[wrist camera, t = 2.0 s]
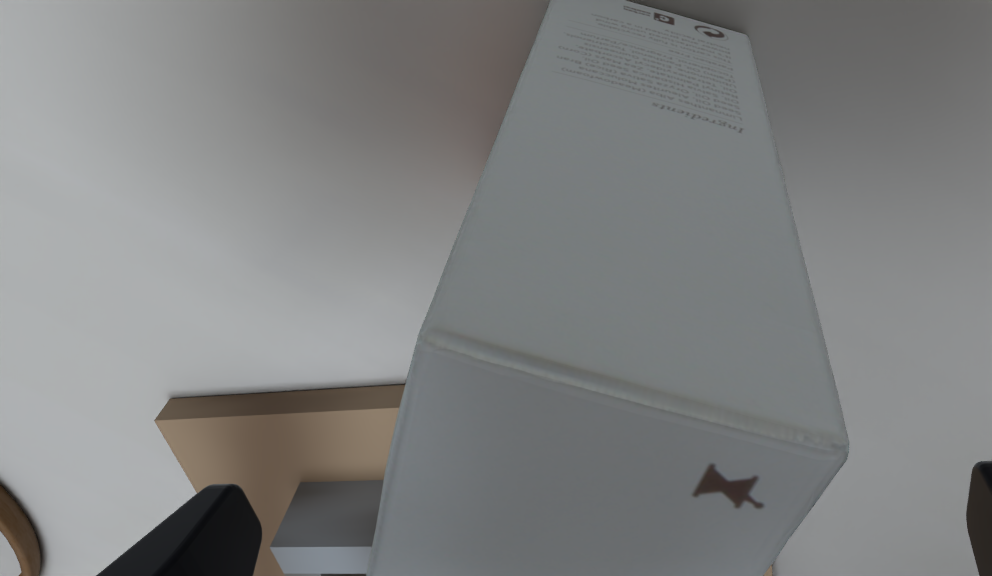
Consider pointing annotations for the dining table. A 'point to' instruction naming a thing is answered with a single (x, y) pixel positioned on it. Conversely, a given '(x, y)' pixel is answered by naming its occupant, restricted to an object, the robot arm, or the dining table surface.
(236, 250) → the dining table surface
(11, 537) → the place setting
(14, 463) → the dining table surface
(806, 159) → the dining table surface
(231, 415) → the duct collar
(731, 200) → the skincare box
